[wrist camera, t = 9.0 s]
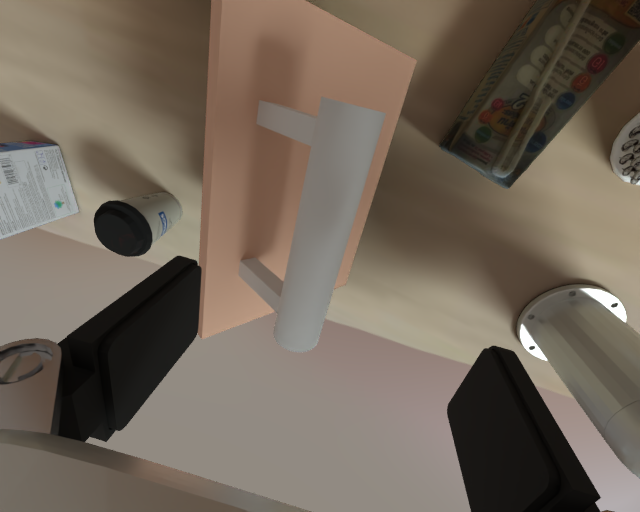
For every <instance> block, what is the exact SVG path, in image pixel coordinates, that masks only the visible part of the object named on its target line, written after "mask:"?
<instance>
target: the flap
mask: <svg viewBox="0 0 640 512" xmlns="http://www.w3.org/2000/svg"><path fill="white" fill-rule="evenodd" d="M416 62H417V60H415V59H413V58H412V57H410V56H408V55H406V54H404V53H402V52H400V51H398V50H397V49H395V48H393V47H391V46H389V45H387V44H385V43H384V42H382V41H380V40H378V39H376V38H374V37H372V36H371V35H369V34H367V33H365V32H363V31H361V30H359V29H358V28H356V27H354V26H352V25H350V24H348V23H346V22H345V21H343V20H341V19H339V18H337V17H335V16H333V15H331V14H330V13H328V12H326V11H324V10H322V9H320V8H318V7H317V6H315V5H313V4H311V3H309V2H307V1H305V0H211V18H210V39H209V61H208V82H207V103H206V125H205V146H204V167H203V189H202V210H201V231H200V253H199V266H200V267H201V269H202V274H201V291H200V309H199V326H198V332H197V333H198V335H199V336H200V337H201V338H202V339H204V338H207V337H209V336H212V335H215V334H217V333H220V332H223V331H225V330H228V329H231V328H233V327H235V326H238V325H241V324H244V323H246V322H249V321H251V320H254V319H257V318H259V317H262V316H265V315H267V314H270V313H273V312H277V317H276V322H275V327H274V338H275V340H276V342H277V343H278V344H279V345H280V346H282V347H283V348H285V349H287V350H290V351H293V352H306V351H309V350H311V349H313V348H314V347H315V346H316V345H317V343H318V340H319V337H320V333H321V330H322V326H323V323H324V320H325V316H326V313H327V310H328V306H329V303H330V300H331V296H332V293H333V290H334V289H336V288H338V287H341V286H344V285H346V282H347V279H348V276H349V273H350V270H351V267H352V263H353V260H354V257H355V254H356V251H357V248H358V244H359V241H360V238H361V235H362V232H363V229H364V226H365V222H366V219H367V216H368V213H369V210H370V207H371V204H372V200H373V197H374V194H375V191H376V188H377V185H378V182H379V178H380V175H381V172H382V169H383V166H384V163H385V160H386V156H387V153H388V150H389V147H390V144H391V141H392V138H393V134H394V131H395V128H396V125H397V122H398V119H399V116H400V112H401V109H402V106H403V103H404V100H405V97H406V93H407V90H408V87H409V84H410V81H411V78H412V75H413V71H414V68H415V65H416Z"/></svg>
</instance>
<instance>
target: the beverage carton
mask: <svg viewBox="0 0 640 512" xmlns="http://www.w3.org/2000/svg"><path fill="white" fill-rule="evenodd" d="M639 40H640V0H536V2H535V3H534V5H533V6H532V8H531V9H530V11H529V12H528V14H527V15H526V16H525V18H524V19H523V21H522V22H521V24H520V25H519V27H518V29H517V30H516V32H515V33H514V34H513V36H512V37H511V38H510V40H509V42H508V43H507V44H506V46H505V47H504V49H503V50H502V52H501V53H500V55H499V56H498V58H497V59H496V61H495V62H494V64H493V65H492V67H491V68H490V69H489V71H488V72H487V74H486V75H485V77H484V78H483V80H482V81H481V83H480V84H479V86H478V87H477V89H476V90H475V92H474V93H473V95H472V96H471V98H470V99H469V101H468V102H467V104H466V105H465V107H464V108H463V110H462V111H461V113H460V115H459V116H458V118H457V119H456V121H455V123H454V124H453V126H452V128H451V129H450V130H449V132H448V133H447V135H446V136H445V138H444V139H443V141H442V142H441V144H440V145H439V147H441V149H442V150H443V151H445V152H447V153H449V154H451V155H453V156H455V157H456V158H458V159H459V160H461V161H463V162H464V163H465V164H467V165H468V166H470V167H472V168H473V169H475V170H477V171H478V172H480V174H481V175H483V176H484V177H486V178H488V179H489V180H491V181H493V182H495V183H497V184H498V185H500V186H502V187H503V188H506V189H508V188H510V187H511V186H512V184H513V183H514V182H515V181H516V180H517V179H518V178H519V176H520V175H521V174H522V173H523V172H524V171H525V170H526V169H527V168H528V167H529V166H530V164H531V163H532V162H533V161H534V160H535V159H536V158H537V157H538V156H539V154H540V153H541V152H542V151H543V150H544V149H545V148H546V147H547V145H548V144H549V143H550V142H551V141H552V140H553V138H554V137H555V136H556V135H557V134H558V133H559V132H560V131H561V130H562V128H563V127H564V126H565V125H566V124H567V123H568V122H569V120H570V119H571V118H572V117H573V116H574V115H575V113H576V112H577V111H578V110H579V109H580V108H581V107H582V106H583V104H584V103H585V102H586V101H587V100H588V99H589V98H590V97H591V95H592V94H593V93H594V92H595V91H596V90H597V89H598V87H599V86H600V85H601V84H602V83H603V82H604V81H605V79H606V78H607V77H608V76H609V75H610V74H611V72H612V71H613V70H614V69H615V68H616V67H617V66H618V64H619V63H620V62H621V61H622V60H623V59H624V57H625V56H626V55H627V54H628V53H629V52H630V50H631V49H632V48H633V47H634V46H635V45H636V44H637V42H638V41H639Z"/></svg>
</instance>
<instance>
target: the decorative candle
mask: <svg viewBox="0 0 640 512" xmlns="http://www.w3.org/2000/svg"><path fill="white" fill-rule="evenodd" d="M610 161H611V165H612V169H613V172H614V173H615V174H616V175H617V176H618V177H619V178H621V179H622V180H623V181H625V182H629V183H631V184H637V185H640V112H639V113H638V114H637V115H636V116H635V117H634V118H632V119H631V120H630V121H629V122H628V123H627V124H626V125H625V126H624V127H623V128H622V130H621V131H620V133H619V134H618V136H617V138H616V139H615V141H614V142H613V146H612V151H611V155H610Z"/></svg>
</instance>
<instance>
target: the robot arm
mask: <svg viewBox="0 0 640 512" xmlns="http://www.w3.org/2000/svg"><path fill="white" fill-rule="evenodd" d="M201 274H202V269H201V267H200V266H198V264H197V261H196V260H193V259H189V258H186V257H182V256H176V257H175V258H173V259H172V260H171V261H169V262H168V263H167V264H165V265H164V266H162V267H161V268H160V269H158V270H157V271H156V272H154V273H153V274H152V275H150V276H149V277H147V278H146V279H145V280H143V281H142V282H141V283H139V284H138V285H136V286H135V287H134V288H132V289H131V290H130V291H128V292H127V293H125V294H124V295H123V296H122V297H120V298H119V299H118V300H116V301H115V302H113V303H112V304H110V305H109V306H108V307H106V308H105V309H104V310H102V311H101V312H99V313H98V314H97V315H95V316H94V317H93V318H91V319H90V320H88V321H87V322H86V323H84V324H83V325H82V326H80V327H79V328H78V329H76V330H75V331H74V332H72V333H71V334H69V335H68V336H67V338H65V339H63V340H62V341H61V342H59V343H58V344H56V343H55V342H53V341H50V340H47V339H39V338H35V339H24V340H19V341H15V342H11V343H8V344H6V345H3V346H0V512H311V511H308V510H304V509H301V508H298V507H295V506H292V505H289V504H286V503H282V502H279V501H276V500H273V499H270V498H267V497H263V496H260V495H257V494H254V493H250V492H247V491H244V490H241V489H238V488H234V487H232V486H228V485H225V484H222V483H218V482H215V481H212V480H209V479H205V478H202V477H199V476H196V475H193V474H190V473H186V472H183V471H180V470H177V469H173V468H170V467H167V466H164V465H161V464H157V463H154V462H151V461H148V460H144V459H141V458H137V457H134V456H131V455H127V454H124V453H120V452H116V451H113V450H110V449H106V448H103V447H99V446H96V445H92V444H89V443H85V441H86V440H87V439H88V438H89V437H93V438H96V439H99V440H102V441H105V442H107V440H108V439H109V438H110V437H111V436H112V434H113V433H114V432H115V430H118V431H120V430H122V429H123V428H124V427H125V426H126V425H127V424H128V423H129V421H130V420H131V419H132V418H133V416H134V415H135V414H136V413H137V411H138V410H139V409H140V407H141V406H142V405H143V404H144V402H145V401H146V400H147V398H148V397H149V396H150V394H152V392H153V391H154V390H155V388H156V387H157V386H158V385H159V383H160V382H161V381H162V380H163V378H164V377H165V376H166V374H167V373H168V372H169V371H170V369H171V368H172V367H173V366H174V364H175V363H176V362H177V361H178V359H179V358H180V357H181V356H182V354H183V353H184V352H185V350H186V349H187V348H188V347H189V345H190V344H191V343H192V342H193V340H194V338H195V337H196V335H197V332H198V326H199V309H200V291H201ZM517 335H518V338H519V340H520V342H521V344H522V345H523V347H524V348H525V349H526V350H527V351H528V352H529V353H531V354H532V355H533V356H536V357H538V358H540V359H543V360H547V361H548V362H549V363H550V364H551V366H552V367H553V369H554V370H555V371H556V373H557V374H558V375H559V377H560V378H561V380H562V381H563V382H564V384H565V385H566V387H567V388H568V389H569V391H570V392H571V394H572V395H573V396H574V398H575V399H576V401H577V402H578V403H579V405H580V406H581V408H582V409H583V410H584V412H585V413H586V415H587V416H588V417H589V419H590V420H591V422H592V423H593V424H594V426H595V427H596V429H597V430H598V431H599V433H600V434H601V436H602V437H603V438H604V440H605V441H606V443H607V444H608V445H609V446H610V448H611V449H612V451H613V452H614V453H615V455H616V456H617V457H618V459H619V460H620V461H621V462H622V463H623V464H624V465H625V466H626V467H627V468H628V469H629V470H630V471H631V472H632V473H633V474H635V475H636V476H637V477H638V478H640V334H639V333H638V332H636V331H635V330H634V329H633V328H632V327H630V326H629V325H628V324H627V323H626V312H625V308H624V306H623V304H622V303H621V302H620V301H619V299H618V298H617V297H615V296H614V295H613V294H611V293H610V292H609V291H607V290H605V289H602V288H600V287H596V286H593V285H584V284H576V285H567V286H562V287H558V288H555V289H552V290H550V291H547V292H545V293H543V294H541V295H540V296H538V297H537V298H535V299H534V300H533V301H531V302H530V303H529V304H528V305H527V306H526V307H525V309H524V310H523V311H522V313H521V315H520V317H519V319H518V322H517ZM447 414H448V419H449V423H450V427H451V431H452V435H453V439H454V444H455V447H456V452H457V456H458V460H459V464H460V468H461V472H462V476H463V480H464V484H465V488H466V492H467V496H468V500H469V505H470V508H471V512H600V510H599V509H598V507H597V505H596V503H595V502H596V501H597V500H598V499H600V496H599V494H598V492H597V490H596V489H595V487H594V485H593V484H592V482H591V480H590V479H589V477H588V476H587V474H586V472H585V470H584V469H583V467H582V465H581V463H580V462H579V460H578V458H577V457H576V455H575V453H574V452H573V450H572V448H571V447H570V445H569V443H568V441H567V440H566V438H565V436H564V435H563V433H562V431H561V430H560V428H559V426H558V425H557V423H556V421H555V419H554V418H553V416H552V414H551V413H550V411H549V409H548V408H547V406H546V404H545V403H544V401H543V399H542V397H541V396H540V394H539V392H538V391H537V389H536V387H535V386H534V384H533V382H532V380H531V379H530V377H529V375H528V374H527V372H526V370H525V369H524V367H523V365H522V364H521V362H520V360H519V358H518V357H517V355H516V354H515V352H513V351H511V350H508V349H504V348H501V347H497V346H491V347H489V349H487V348H485V349H484V350H483V351H482V352H481V354H480V355H479V357H478V358H477V360H476V361H475V363H474V365H473V366H472V368H471V369H470V371H469V372H468V374H467V376H466V377H465V379H464V380H463V382H462V383H461V385H460V387H459V388H458V390H457V391H456V393H455V395H454V396H453V398H452V399H451V401H450V402H449V404H448V409H447ZM602 512H613V511H608V510H605V511H602Z"/></svg>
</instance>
